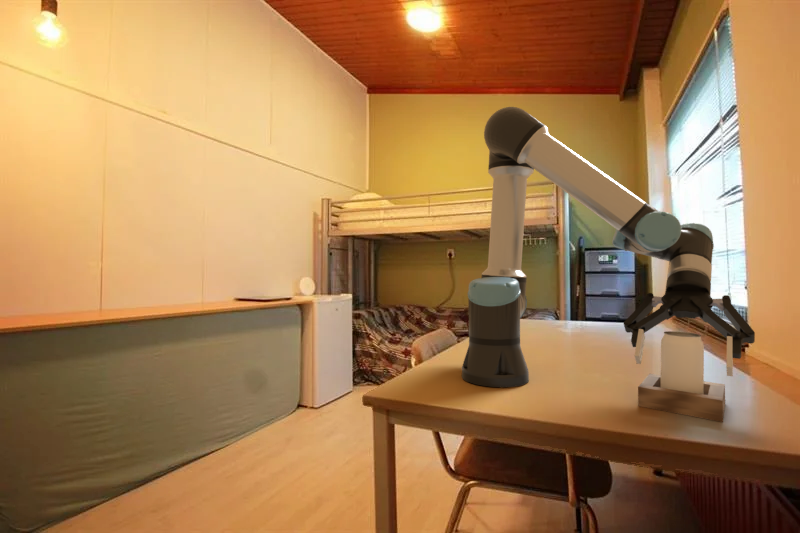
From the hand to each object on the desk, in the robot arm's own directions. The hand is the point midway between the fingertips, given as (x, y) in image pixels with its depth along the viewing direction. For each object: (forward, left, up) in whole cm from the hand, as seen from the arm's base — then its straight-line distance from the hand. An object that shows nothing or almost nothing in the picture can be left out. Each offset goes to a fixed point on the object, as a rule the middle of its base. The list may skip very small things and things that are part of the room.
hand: (680, 365), depth 71 cm
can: (0, +2, -7) cm, 7 cm away
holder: (0, +2, -8) cm, 8 cm away
